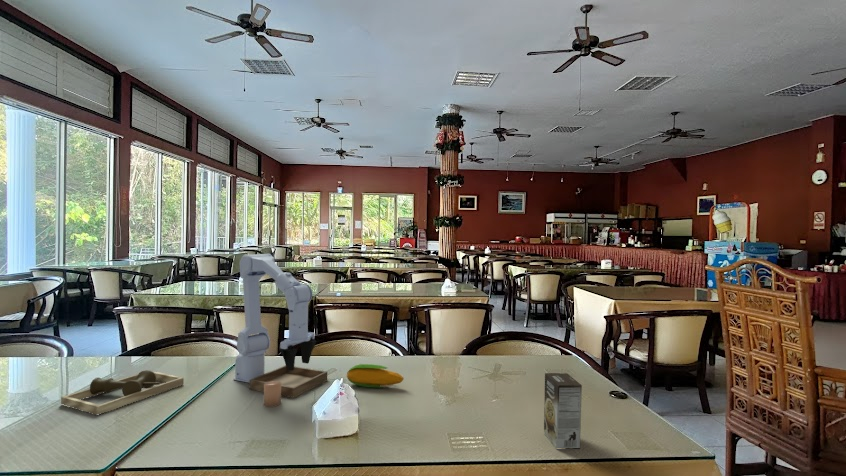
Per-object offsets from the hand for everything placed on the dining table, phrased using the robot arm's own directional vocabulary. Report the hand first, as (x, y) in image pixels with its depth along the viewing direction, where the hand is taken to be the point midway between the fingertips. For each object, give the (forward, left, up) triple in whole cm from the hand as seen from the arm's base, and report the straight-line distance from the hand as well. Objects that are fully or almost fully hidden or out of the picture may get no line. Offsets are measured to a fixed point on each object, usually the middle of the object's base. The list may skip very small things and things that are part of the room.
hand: (298, 366), depth 139 cm
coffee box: (+79, +5, -10) cm, 80 cm away
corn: (+17, +19, -10) cm, 28 cm away
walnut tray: (-10, +8, -10) cm, 16 cm away
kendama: (-49, -21, -10) cm, 55 cm away
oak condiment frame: (-50, -21, -10) cm, 55 cm away
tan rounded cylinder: (-4, -7, -10) cm, 13 cm away
